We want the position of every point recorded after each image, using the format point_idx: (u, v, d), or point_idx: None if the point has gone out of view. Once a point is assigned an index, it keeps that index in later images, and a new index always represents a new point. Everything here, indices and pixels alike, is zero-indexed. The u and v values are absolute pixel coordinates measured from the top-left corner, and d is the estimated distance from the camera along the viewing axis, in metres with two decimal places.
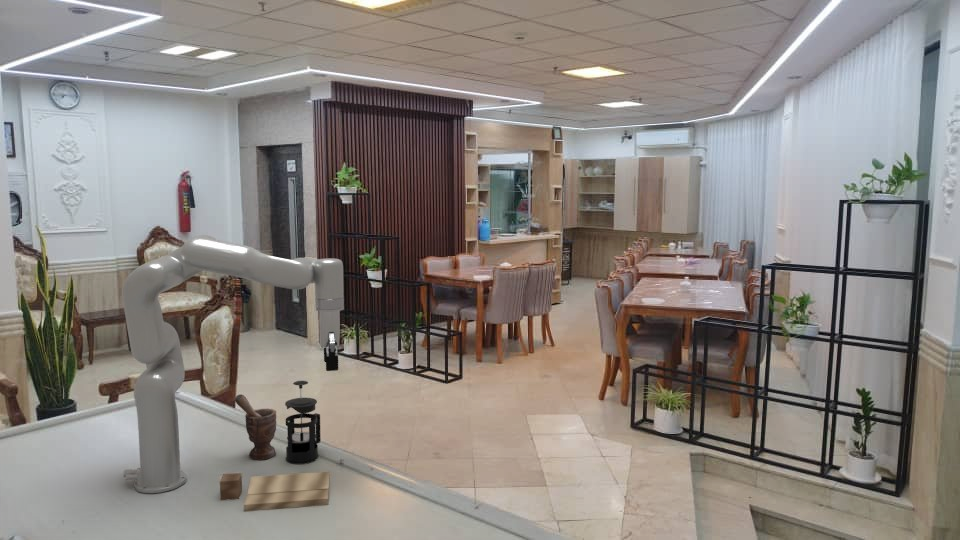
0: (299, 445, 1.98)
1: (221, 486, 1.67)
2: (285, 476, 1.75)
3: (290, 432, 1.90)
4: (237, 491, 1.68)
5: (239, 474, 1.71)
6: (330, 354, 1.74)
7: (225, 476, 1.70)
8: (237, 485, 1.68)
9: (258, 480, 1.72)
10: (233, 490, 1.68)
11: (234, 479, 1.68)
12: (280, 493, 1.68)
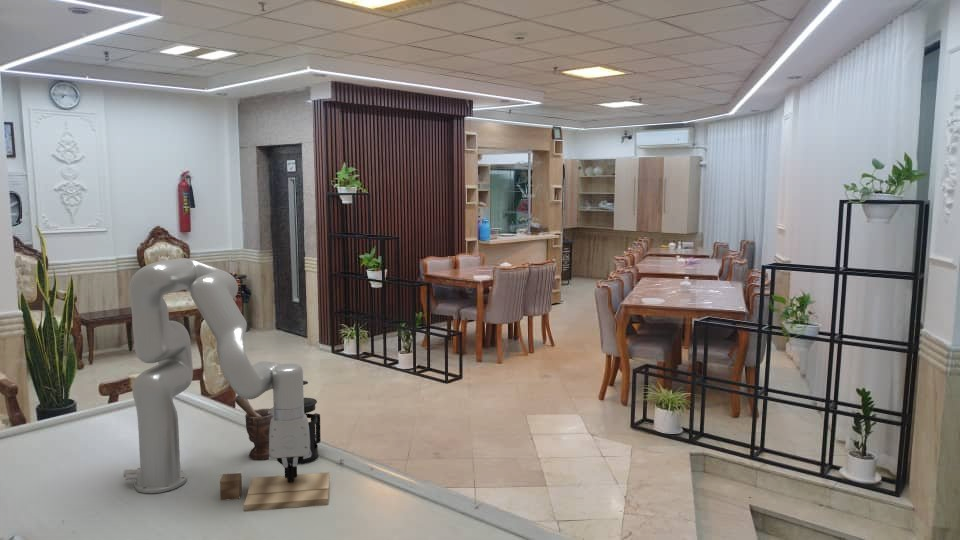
0: None
1: (221, 486, 1.67)
2: None
3: None
4: (237, 491, 1.68)
5: (239, 474, 1.71)
6: None
7: (225, 476, 1.70)
8: (237, 485, 1.68)
9: (258, 481, 1.72)
10: (233, 490, 1.68)
11: (234, 479, 1.68)
12: (280, 493, 1.68)
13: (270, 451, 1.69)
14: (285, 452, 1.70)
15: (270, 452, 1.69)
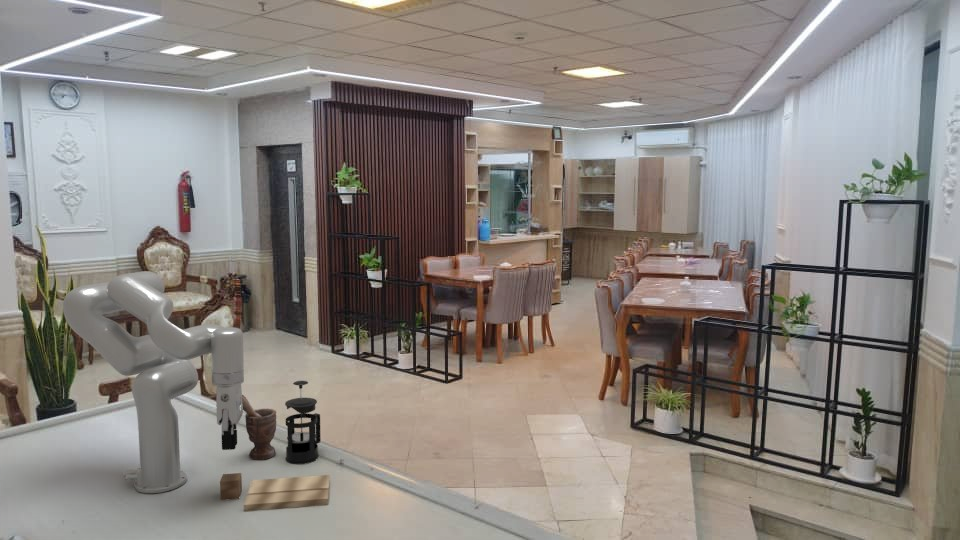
0: (299, 445, 1.98)
1: (221, 486, 1.67)
2: (285, 479, 1.75)
3: (290, 432, 1.90)
4: (237, 491, 1.68)
5: (239, 474, 1.71)
6: None
7: (225, 476, 1.70)
8: (237, 485, 1.68)
9: (258, 483, 1.73)
10: (233, 490, 1.68)
11: (234, 479, 1.68)
12: (280, 493, 1.68)
13: (236, 418, 1.64)
14: (240, 414, 1.67)
15: (236, 419, 1.64)
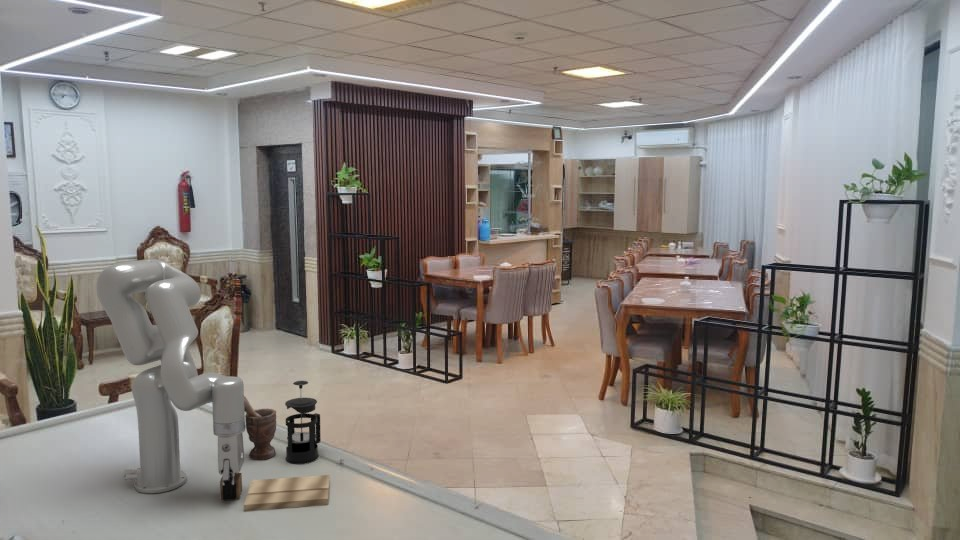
0: (299, 445, 1.98)
1: (221, 486, 1.67)
2: (285, 479, 1.75)
3: (290, 432, 1.90)
4: (237, 491, 1.68)
5: (239, 474, 1.71)
6: None
7: None
8: (237, 485, 1.68)
9: (258, 483, 1.73)
10: None
11: None
12: (280, 493, 1.68)
13: (238, 467, 1.65)
14: (241, 463, 1.69)
15: (237, 468, 1.65)
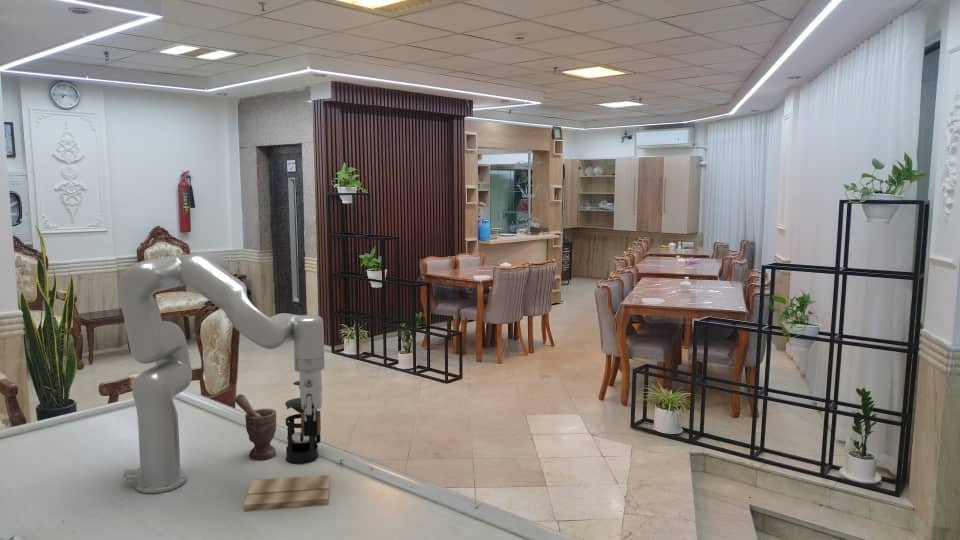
0: (299, 445, 1.98)
1: (303, 422, 1.69)
2: (285, 479, 1.75)
3: (290, 432, 1.90)
4: (318, 427, 1.70)
5: (318, 411, 1.74)
6: None
7: None
8: (318, 421, 1.70)
9: (258, 483, 1.73)
10: None
11: None
12: (280, 493, 1.68)
13: (319, 403, 1.67)
14: (321, 400, 1.71)
15: (319, 404, 1.67)
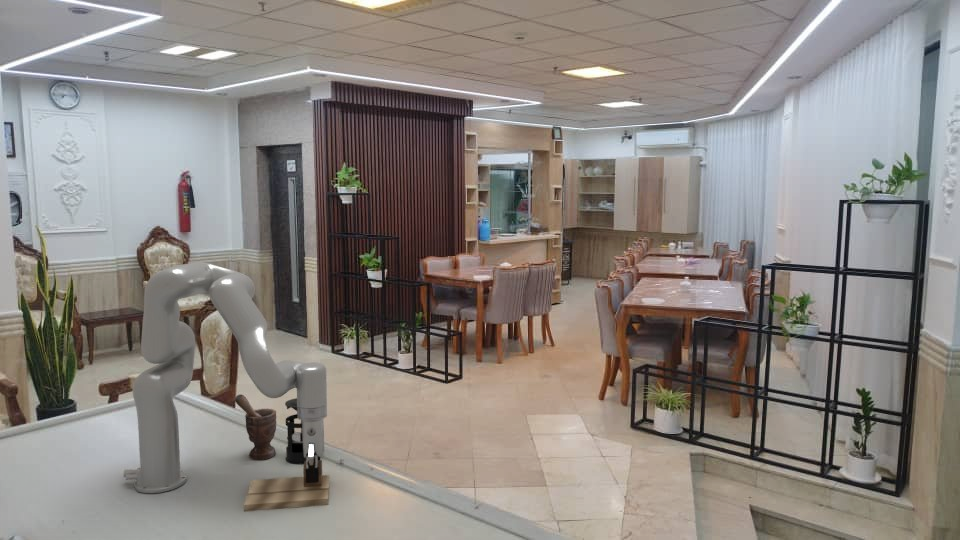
0: (299, 445, 1.98)
1: (304, 473, 1.71)
2: (285, 479, 1.75)
3: (290, 432, 1.90)
4: (320, 478, 1.72)
5: (320, 461, 1.75)
6: None
7: None
8: (320, 473, 1.72)
9: (258, 483, 1.73)
10: None
11: None
12: (280, 493, 1.68)
13: (322, 451, 1.69)
14: None
15: (322, 452, 1.69)
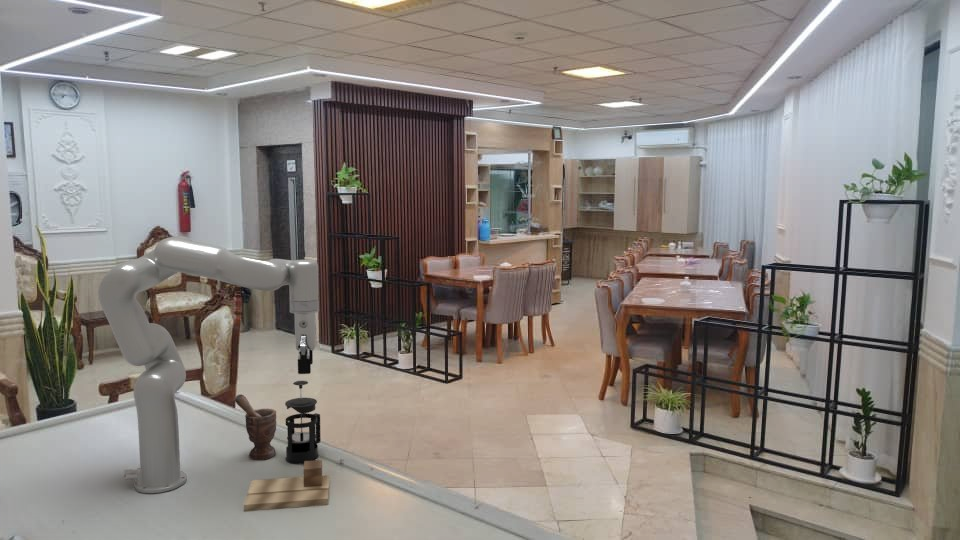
0: (299, 445, 1.98)
1: (304, 473, 1.71)
2: (285, 479, 1.75)
3: (290, 432, 1.90)
4: (320, 478, 1.72)
5: (320, 461, 1.75)
6: None
7: (307, 464, 1.73)
8: (320, 473, 1.72)
9: (258, 483, 1.73)
10: (316, 477, 1.72)
11: (317, 467, 1.72)
12: (280, 493, 1.68)
13: (313, 343, 1.74)
14: (315, 342, 1.77)
15: (313, 344, 1.74)
